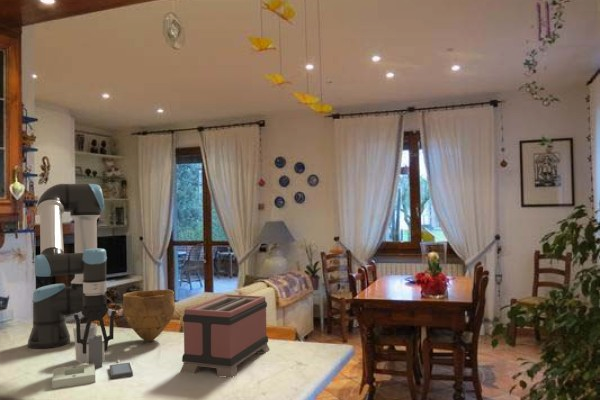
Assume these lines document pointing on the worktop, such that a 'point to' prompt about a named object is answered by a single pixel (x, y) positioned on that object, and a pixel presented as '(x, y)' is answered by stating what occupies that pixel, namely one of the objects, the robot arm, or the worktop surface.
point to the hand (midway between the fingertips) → (95, 361)
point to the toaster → (224, 333)
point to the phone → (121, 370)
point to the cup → (78, 346)
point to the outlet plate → (73, 375)
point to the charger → (95, 350)
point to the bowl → (148, 311)
